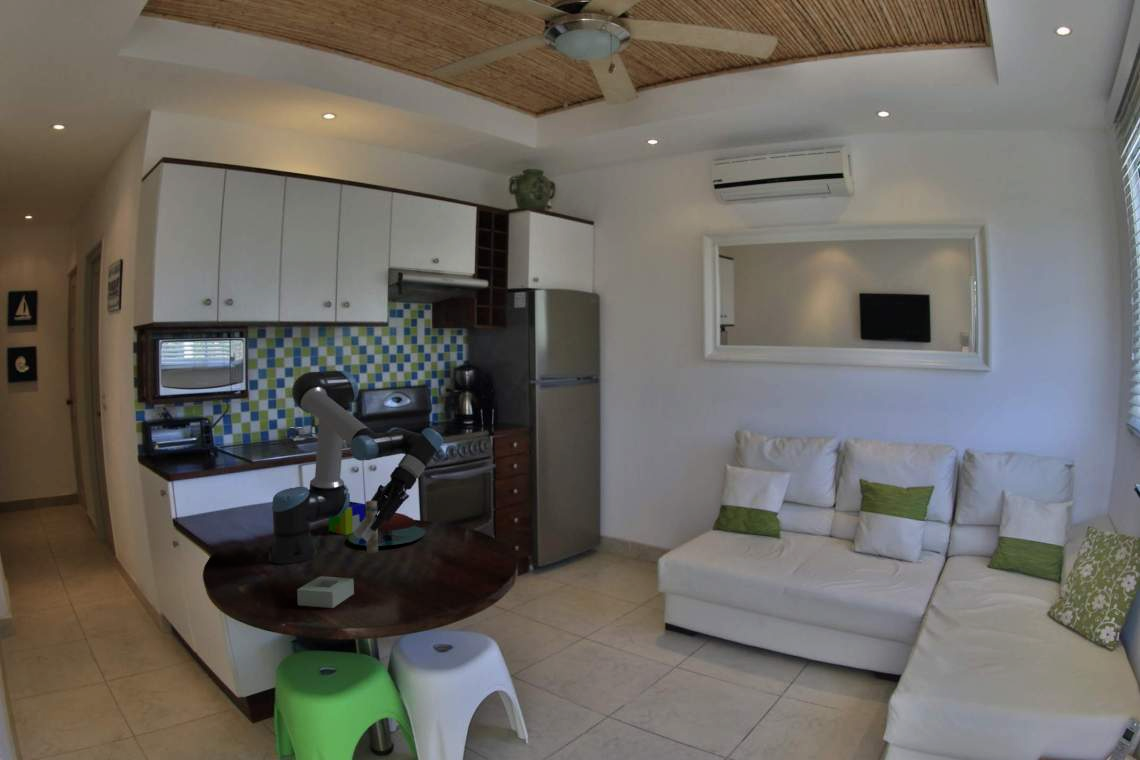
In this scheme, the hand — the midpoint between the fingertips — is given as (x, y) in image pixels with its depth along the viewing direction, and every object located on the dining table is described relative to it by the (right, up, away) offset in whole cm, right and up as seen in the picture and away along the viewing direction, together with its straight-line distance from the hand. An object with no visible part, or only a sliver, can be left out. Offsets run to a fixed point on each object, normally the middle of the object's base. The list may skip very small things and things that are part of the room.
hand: (360, 537), depth 197 cm
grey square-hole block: (-9, -17, -3) cm, 20 cm away
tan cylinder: (+3, -5, +3) cm, 6 cm away
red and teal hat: (-8, -14, +57) cm, 60 cm away
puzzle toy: (-27, -14, +71) cm, 77 cm away
